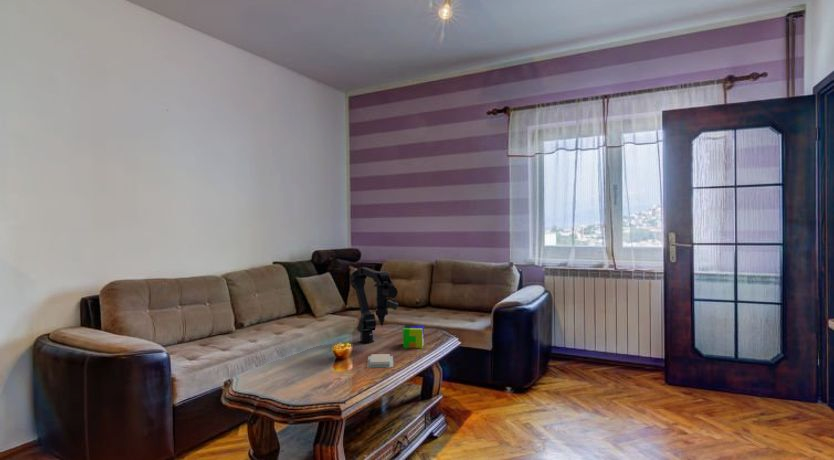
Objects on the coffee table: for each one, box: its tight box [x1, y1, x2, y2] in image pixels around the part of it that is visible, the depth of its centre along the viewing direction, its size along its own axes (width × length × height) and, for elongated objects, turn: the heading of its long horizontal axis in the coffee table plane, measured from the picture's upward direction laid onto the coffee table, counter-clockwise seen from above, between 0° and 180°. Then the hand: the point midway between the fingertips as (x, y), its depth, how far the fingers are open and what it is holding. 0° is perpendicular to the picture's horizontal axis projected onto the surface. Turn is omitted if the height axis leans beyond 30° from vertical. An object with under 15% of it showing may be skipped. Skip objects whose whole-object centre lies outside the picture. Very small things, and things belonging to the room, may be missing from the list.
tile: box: [369, 353, 391, 368], centre depth 214 cm, size 2×9×12 cm
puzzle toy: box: [402, 324, 425, 350], centre depth 244 cm, size 10×10×10 cm
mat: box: [366, 355, 394, 368], centre depth 216 cm, size 17×12×1 cm
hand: (382, 325), depth 240 cm, fingers closed
